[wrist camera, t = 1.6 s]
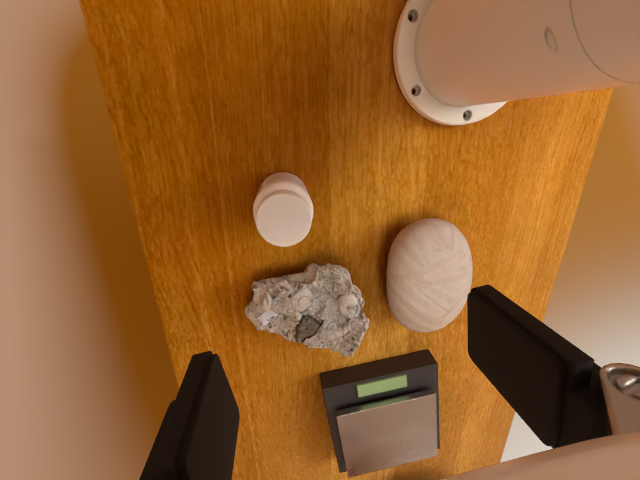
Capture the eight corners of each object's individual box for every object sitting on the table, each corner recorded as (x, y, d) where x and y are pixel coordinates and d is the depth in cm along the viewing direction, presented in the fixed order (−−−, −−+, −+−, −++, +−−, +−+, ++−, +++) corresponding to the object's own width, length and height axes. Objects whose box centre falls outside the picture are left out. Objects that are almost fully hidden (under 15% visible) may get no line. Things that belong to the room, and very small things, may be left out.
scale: (319, 373, 37) (322, 391, 35) (428, 349, 38) (438, 365, 35) (336, 454, 42) (340, 475, 40) (431, 431, 43) (440, 450, 41)
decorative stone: (447, 313, 36) (471, 339, 32) (375, 319, 35) (389, 347, 31) (463, 210, 32) (495, 223, 27) (382, 213, 31) (400, 227, 26)
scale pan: (335, 410, 35) (336, 416, 35) (432, 388, 36) (436, 393, 35) (347, 471, 39) (348, 477, 39) (434, 449, 40) (437, 455, 39)
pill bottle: (252, 175, 28) (242, 193, 20) (303, 167, 28) (311, 181, 21) (263, 223, 30) (258, 257, 22) (311, 215, 30) (322, 245, 22)
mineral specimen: (343, 337, 36) (241, 334, 33) (362, 254, 33) (251, 243, 30) (358, 372, 31) (238, 373, 28) (383, 277, 28) (251, 266, 25)
